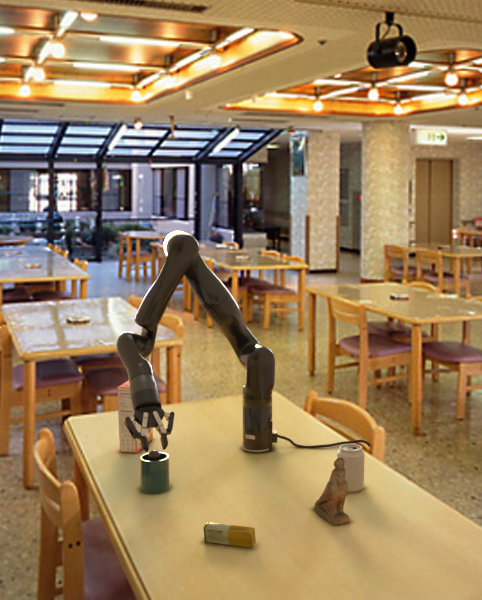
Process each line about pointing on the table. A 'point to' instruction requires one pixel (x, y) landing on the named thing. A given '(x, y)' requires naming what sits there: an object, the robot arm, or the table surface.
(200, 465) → the table surface
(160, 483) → the cup
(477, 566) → the table surface
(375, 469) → the table surface
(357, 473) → the can
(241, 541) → the medication box
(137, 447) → the cracker box
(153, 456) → the game pawn
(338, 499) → the worn brown figurine
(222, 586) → the table surface
